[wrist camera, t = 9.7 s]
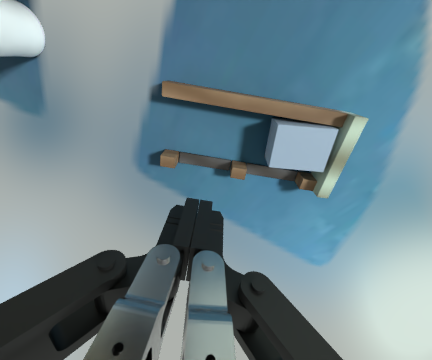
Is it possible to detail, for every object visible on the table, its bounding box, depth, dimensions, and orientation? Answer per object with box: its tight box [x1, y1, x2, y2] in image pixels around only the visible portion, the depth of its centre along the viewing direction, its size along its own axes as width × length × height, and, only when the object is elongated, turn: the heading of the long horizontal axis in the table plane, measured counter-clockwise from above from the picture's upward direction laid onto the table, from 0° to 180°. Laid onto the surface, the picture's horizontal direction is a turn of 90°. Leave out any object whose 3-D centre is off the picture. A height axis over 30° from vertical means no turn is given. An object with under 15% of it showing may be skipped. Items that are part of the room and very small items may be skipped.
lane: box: [160, 81, 368, 198], centre depth 26 cm, size 11×24×4 cm, turn 81°
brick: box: [264, 118, 338, 172], centre depth 26 cm, size 6×7×4 cm
